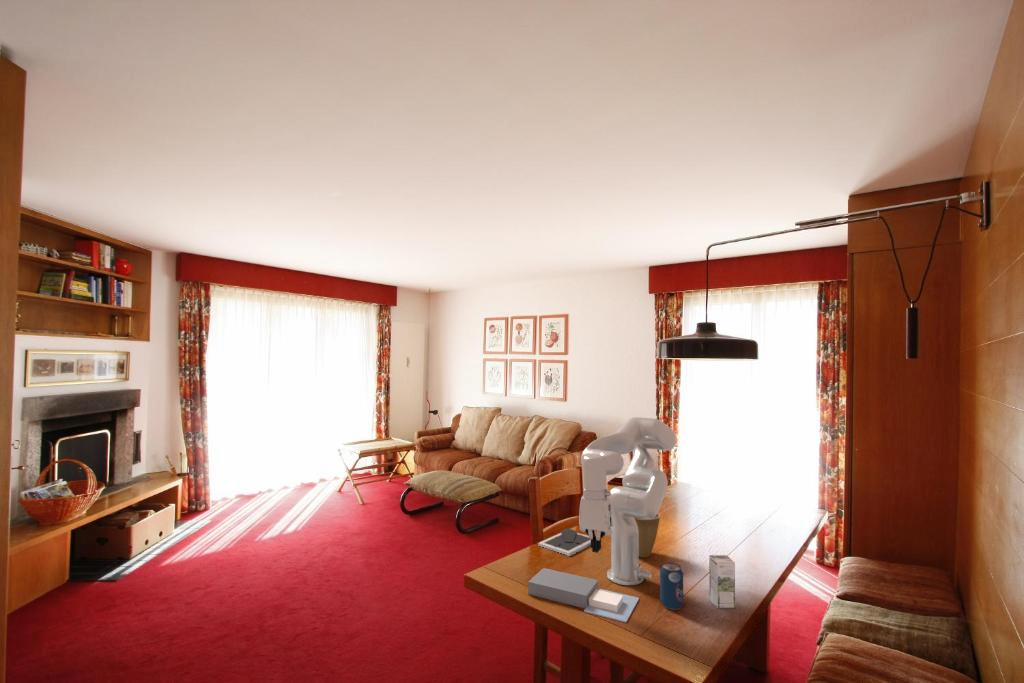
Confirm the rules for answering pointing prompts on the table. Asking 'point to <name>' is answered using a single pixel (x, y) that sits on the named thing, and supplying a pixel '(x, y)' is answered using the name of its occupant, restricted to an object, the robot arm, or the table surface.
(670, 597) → the soda can
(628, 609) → the mat
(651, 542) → the plant pot
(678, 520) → the table surface
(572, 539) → the picture frame
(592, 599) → the white flat block
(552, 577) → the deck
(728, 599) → the syrup box
